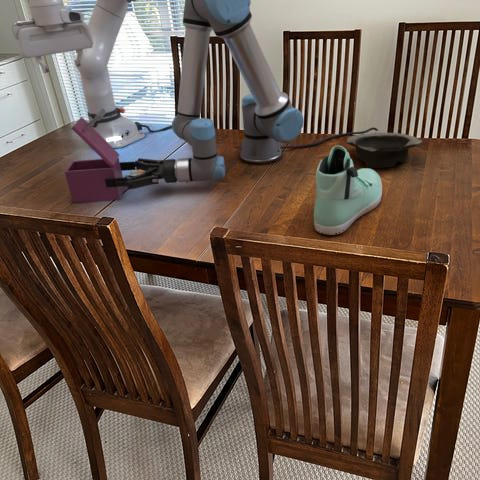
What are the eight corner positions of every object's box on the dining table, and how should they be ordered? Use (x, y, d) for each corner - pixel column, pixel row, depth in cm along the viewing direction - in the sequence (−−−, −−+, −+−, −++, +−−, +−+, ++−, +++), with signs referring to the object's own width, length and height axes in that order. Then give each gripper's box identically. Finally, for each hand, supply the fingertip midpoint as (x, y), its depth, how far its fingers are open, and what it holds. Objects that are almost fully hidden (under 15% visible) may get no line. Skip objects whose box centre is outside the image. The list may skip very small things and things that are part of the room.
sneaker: (389, 187, 148) (396, 123, 138) (356, 242, 123) (361, 168, 112) (346, 181, 154) (350, 119, 144) (306, 232, 129) (307, 161, 118)
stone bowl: (379, 179, 153) (379, 151, 149) (331, 161, 173) (330, 135, 169) (436, 160, 162) (438, 133, 158) (384, 144, 182) (385, 120, 178)
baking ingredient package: (126, 174, 170) (150, 159, 182) (126, 175, 171) (151, 160, 182) (146, 177, 167) (170, 162, 178) (146, 178, 167) (170, 163, 179)
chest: (73, 202, 155) (64, 171, 150) (80, 190, 163) (72, 160, 157) (119, 199, 155) (112, 168, 149) (125, 187, 163) (118, 157, 157)
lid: (71, 128, 142) (91, 109, 140) (79, 119, 150) (98, 101, 147) (111, 167, 149) (131, 150, 146) (117, 156, 157) (136, 140, 154)
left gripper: (12, 23, 124) (28, 77, 131) (89, 12, 133) (100, 64, 140) (7, 21, 128) (23, 74, 136) (81, 11, 138) (92, 62, 145)
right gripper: (173, 198, 146) (103, 202, 147) (182, 166, 166) (121, 170, 167) (169, 175, 142) (98, 179, 143) (179, 146, 162) (117, 150, 163)
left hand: (62, 69), depth 138 cm, fingers open, 8 cm apart
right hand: (110, 174), depth 155 cm, fingers open, 12 cm apart
